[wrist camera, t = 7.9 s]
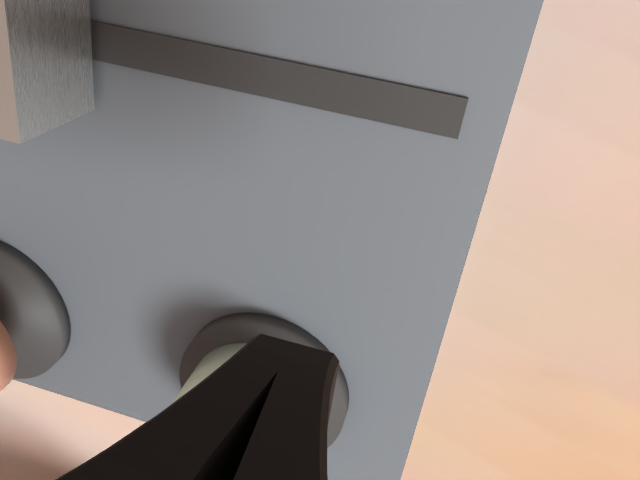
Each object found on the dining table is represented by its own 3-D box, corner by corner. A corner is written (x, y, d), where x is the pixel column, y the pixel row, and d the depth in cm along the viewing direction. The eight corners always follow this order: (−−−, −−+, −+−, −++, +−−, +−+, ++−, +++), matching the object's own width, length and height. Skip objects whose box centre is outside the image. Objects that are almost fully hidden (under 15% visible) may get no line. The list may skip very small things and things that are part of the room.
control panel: (402, 457, 23) (390, 515, 21) (-59, 315, 26) (-112, 352, 24) (547, -39, 14) (555, -32, 12) (-159, -157, 18) (-254, -168, 15)
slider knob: (94, 109, 17) (20, 144, 14) (-1, 87, 17) (-90, 116, 15) (88, -33, 15) (1, -23, 12) (-19, -53, 15) (-123, -47, 13)
